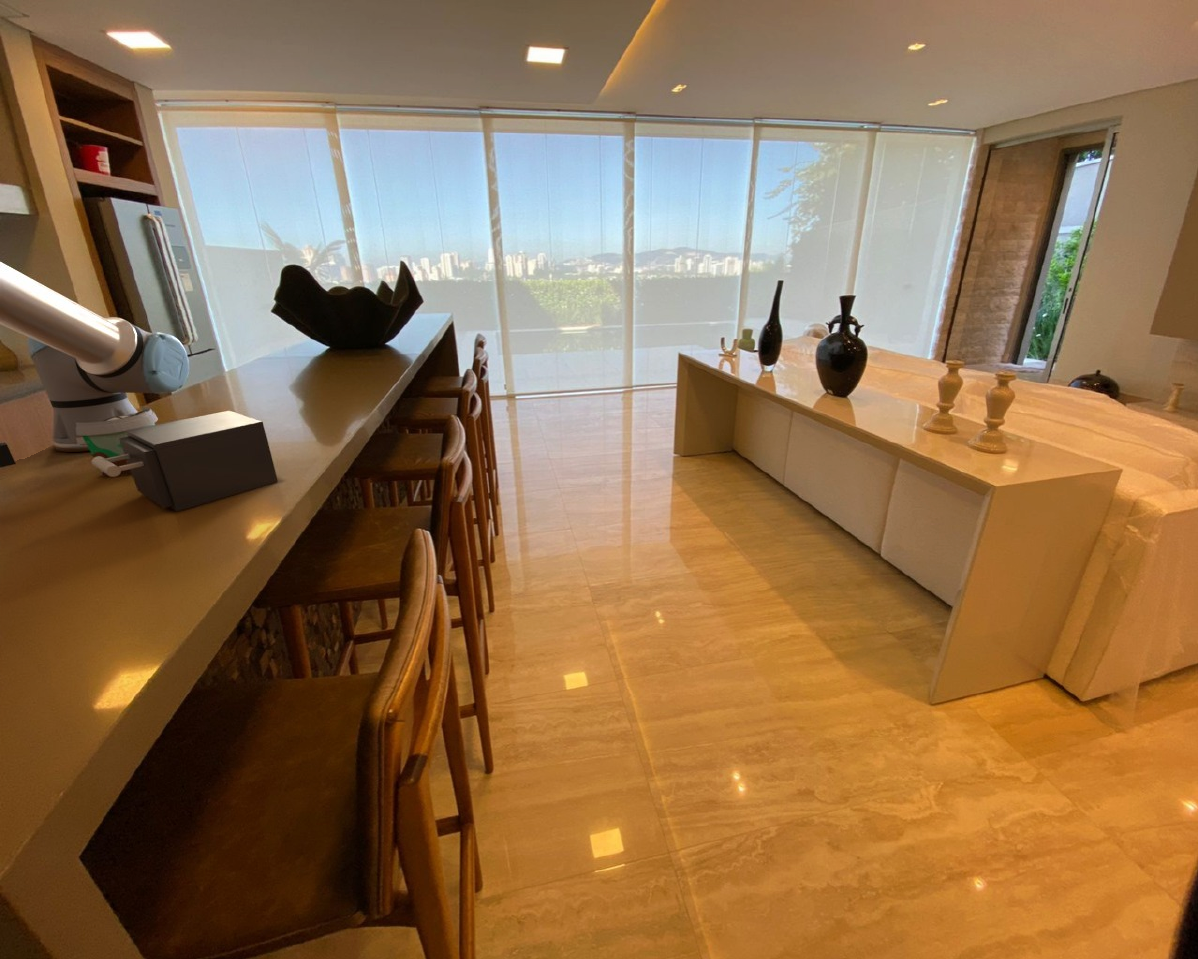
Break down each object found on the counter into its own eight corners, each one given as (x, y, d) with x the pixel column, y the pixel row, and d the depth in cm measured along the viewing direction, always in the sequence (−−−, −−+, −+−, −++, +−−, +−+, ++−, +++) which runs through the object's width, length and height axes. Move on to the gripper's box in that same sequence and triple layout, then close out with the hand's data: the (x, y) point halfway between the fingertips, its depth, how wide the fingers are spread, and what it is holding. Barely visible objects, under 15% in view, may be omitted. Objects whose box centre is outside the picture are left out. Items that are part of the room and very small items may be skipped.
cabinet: (176, 511, 79) (154, 444, 75) (147, 493, 86) (125, 430, 82) (278, 481, 90) (262, 421, 86) (245, 466, 97) (229, 410, 93)
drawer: (127, 518, 75) (105, 460, 72) (103, 500, 81) (81, 445, 78) (260, 480, 88) (247, 429, 85) (231, 466, 94) (217, 419, 91)
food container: (122, 481, 91) (101, 425, 87) (94, 479, 92) (72, 423, 88) (187, 457, 102) (171, 407, 98) (161, 455, 103) (144, 405, 99)
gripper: (-306, 537, 55) (12, 470, 73) (-323, 576, 48) (34, 491, 66) (-356, 470, 53) (-12, 417, 70) (-381, 501, 46) (8, 434, 63)
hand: (10, 453), depth 68 cm, fingers closed
